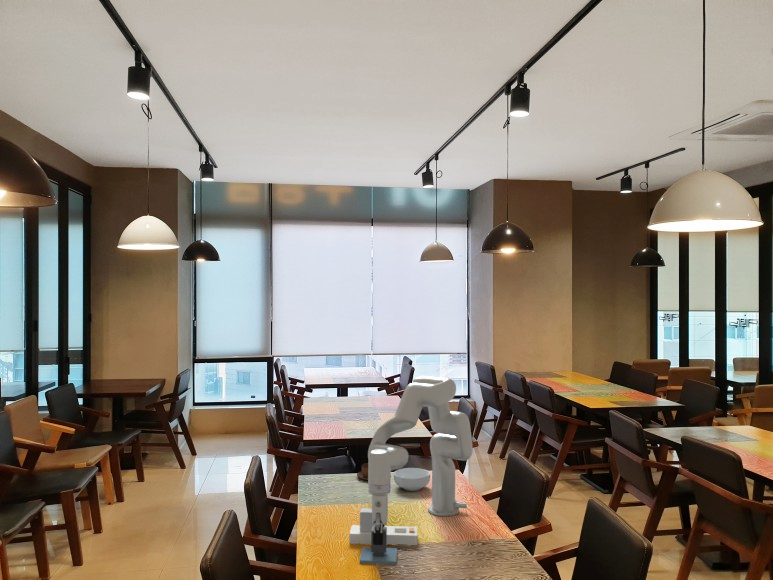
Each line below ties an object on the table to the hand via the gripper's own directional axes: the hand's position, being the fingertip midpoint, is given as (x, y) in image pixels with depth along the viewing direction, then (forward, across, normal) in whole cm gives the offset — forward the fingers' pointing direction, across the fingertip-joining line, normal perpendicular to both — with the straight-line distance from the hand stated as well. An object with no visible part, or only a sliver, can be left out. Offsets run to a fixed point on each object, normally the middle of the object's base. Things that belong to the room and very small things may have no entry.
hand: (378, 538), depth 196 cm
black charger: (+5, 0, 0) cm, 5 cm away
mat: (+6, 0, 0) cm, 6 cm away
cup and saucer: (+7, +86, +10) cm, 86 cm away
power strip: (+6, +14, -1) cm, 15 cm away
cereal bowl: (+7, +72, -11) cm, 73 cm away
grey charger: (+4, +14, +5) cm, 15 cm away
